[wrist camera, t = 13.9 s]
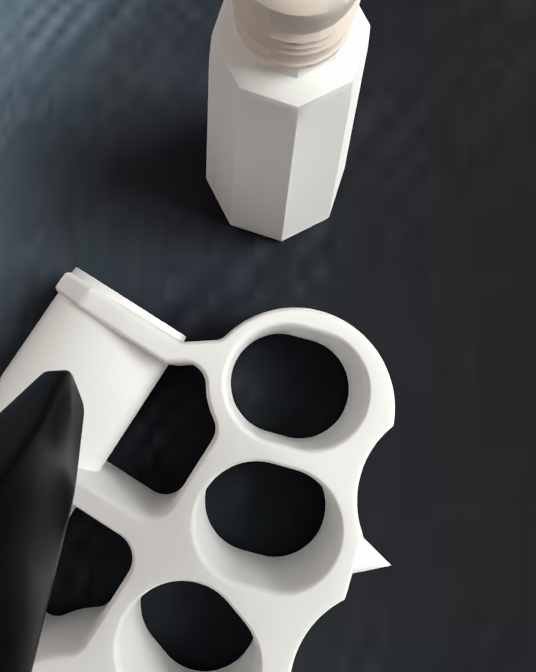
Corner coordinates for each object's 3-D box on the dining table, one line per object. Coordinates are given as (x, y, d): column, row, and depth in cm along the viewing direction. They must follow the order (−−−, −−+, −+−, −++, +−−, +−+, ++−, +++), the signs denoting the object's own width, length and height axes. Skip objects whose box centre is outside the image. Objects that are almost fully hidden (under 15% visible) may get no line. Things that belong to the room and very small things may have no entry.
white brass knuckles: (138, 209, 20) (460, 411, 20) (-140, 620, 18) (203, 846, 18) (115, 174, 16) (502, 418, 16) (-229, 675, 15) (192, 953, 15)
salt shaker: (177, 182, 20) (86, -57, 9) (266, 81, 20) (283, -262, 9) (283, 270, 20) (322, 138, 9) (371, 168, 20) (512, -80, 9)
